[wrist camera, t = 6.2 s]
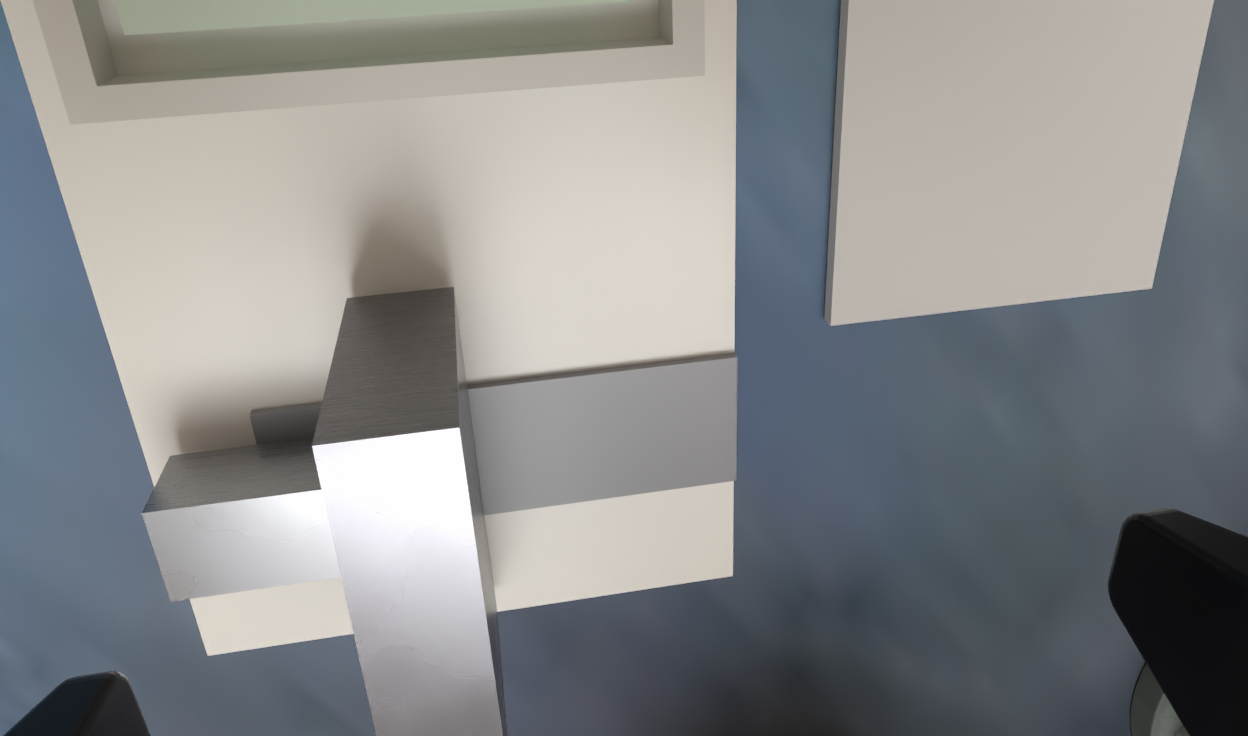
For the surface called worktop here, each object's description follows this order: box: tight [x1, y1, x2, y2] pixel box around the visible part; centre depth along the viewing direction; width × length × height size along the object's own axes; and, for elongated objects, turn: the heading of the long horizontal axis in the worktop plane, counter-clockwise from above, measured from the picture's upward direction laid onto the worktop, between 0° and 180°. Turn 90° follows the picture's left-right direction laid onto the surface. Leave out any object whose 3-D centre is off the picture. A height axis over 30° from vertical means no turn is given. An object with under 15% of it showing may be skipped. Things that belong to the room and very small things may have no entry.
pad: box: [824, 0, 1214, 326], centre depth 20 cm, size 8×8×1 cm
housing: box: [1, 0, 737, 656], centre depth 16 cm, size 21×11×4 cm, turn 2°
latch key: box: [142, 287, 507, 736], centre depth 15 cm, size 7×5×5 cm
